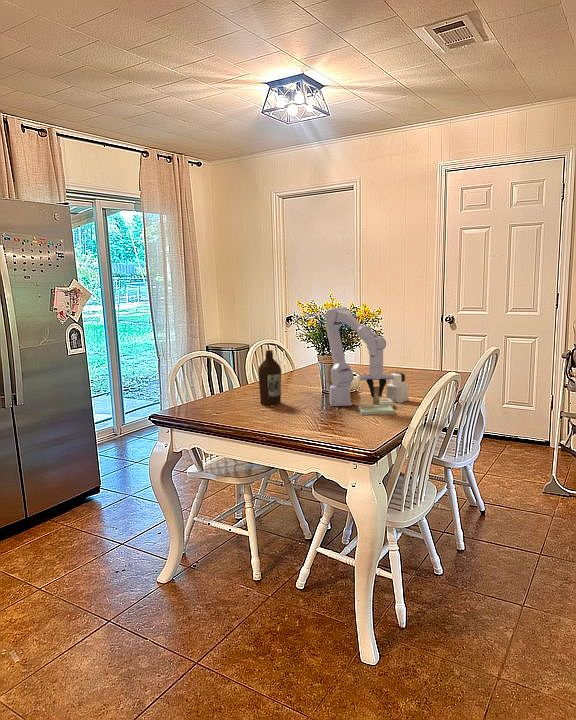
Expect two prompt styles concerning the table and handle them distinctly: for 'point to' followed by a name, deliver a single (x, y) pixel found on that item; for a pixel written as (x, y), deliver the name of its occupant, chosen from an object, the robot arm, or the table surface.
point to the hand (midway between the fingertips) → (376, 396)
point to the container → (398, 388)
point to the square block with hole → (386, 402)
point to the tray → (376, 410)
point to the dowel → (376, 395)
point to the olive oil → (270, 380)
